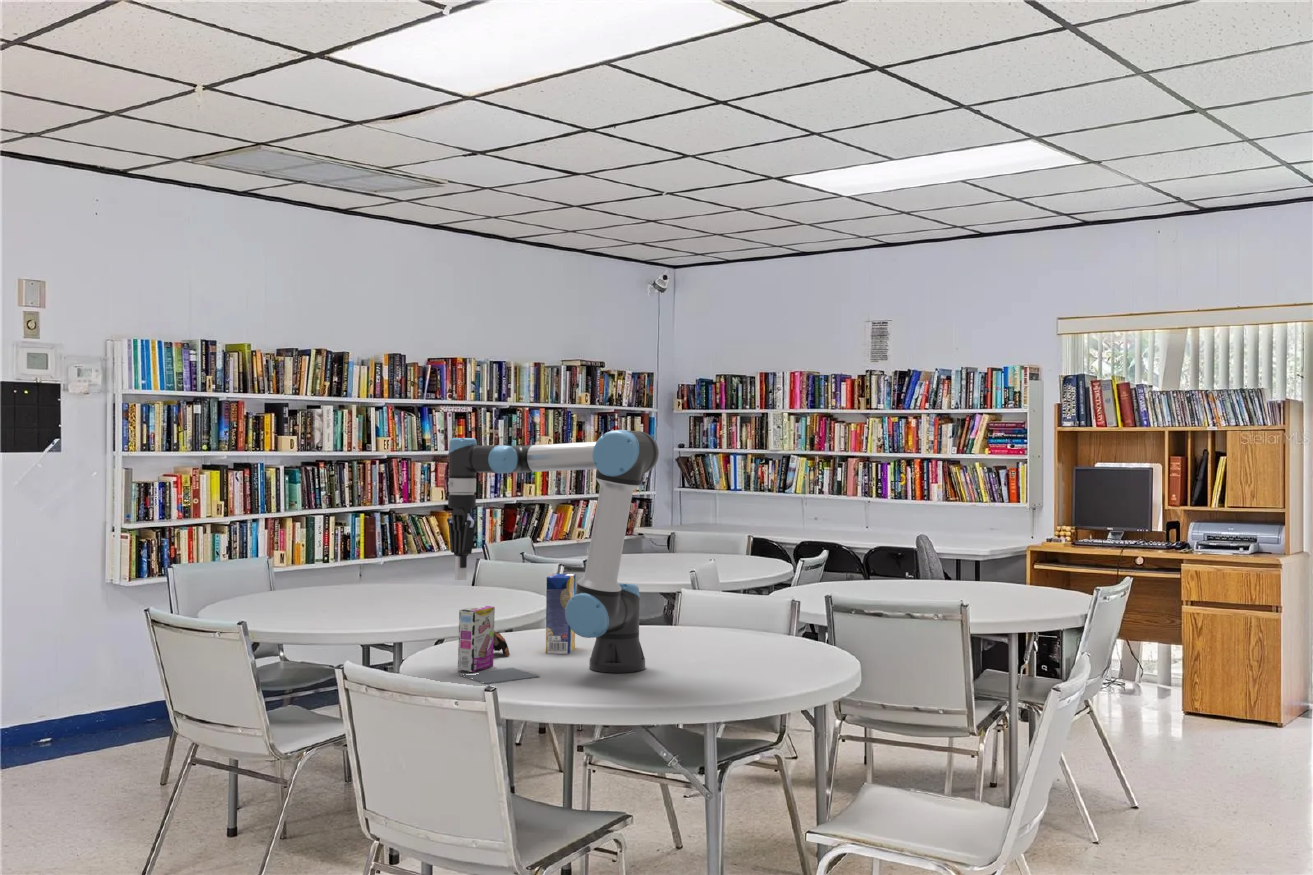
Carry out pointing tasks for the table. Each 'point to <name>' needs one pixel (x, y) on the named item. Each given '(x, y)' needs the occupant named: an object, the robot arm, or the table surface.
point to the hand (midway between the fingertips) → (460, 579)
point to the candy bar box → (476, 638)
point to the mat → (501, 675)
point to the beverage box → (559, 613)
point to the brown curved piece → (500, 644)
